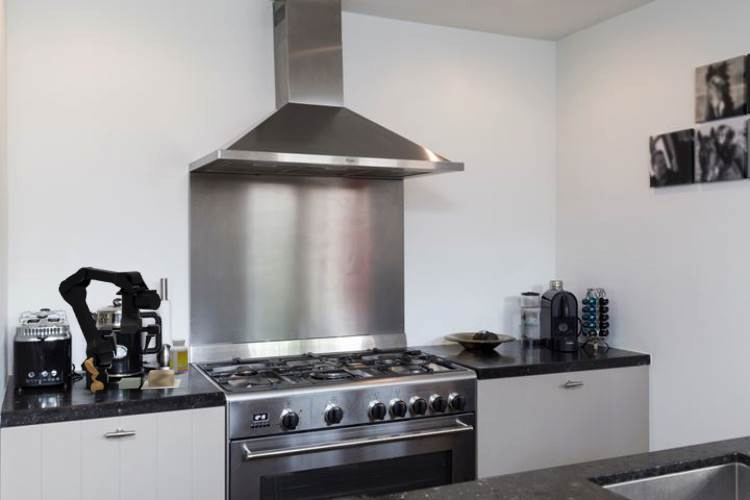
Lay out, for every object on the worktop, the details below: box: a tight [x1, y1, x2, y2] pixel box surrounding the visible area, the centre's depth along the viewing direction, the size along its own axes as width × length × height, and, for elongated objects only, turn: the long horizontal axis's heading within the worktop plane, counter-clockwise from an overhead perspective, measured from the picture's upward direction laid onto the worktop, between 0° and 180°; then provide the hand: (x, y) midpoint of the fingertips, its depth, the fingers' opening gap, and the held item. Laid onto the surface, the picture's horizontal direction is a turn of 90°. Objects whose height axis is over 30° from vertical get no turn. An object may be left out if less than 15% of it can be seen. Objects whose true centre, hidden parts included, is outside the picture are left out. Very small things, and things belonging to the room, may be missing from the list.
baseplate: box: [140, 378, 182, 390], centre depth 245 cm, size 12×14×2 cm
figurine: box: [84, 358, 105, 393], centre depth 237 cm, size 8×6×12 cm
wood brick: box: [147, 369, 176, 387], centre depth 245 cm, size 8×8×4 cm
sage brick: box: [118, 377, 142, 390], centre depth 241 cm, size 6×6×4 cm
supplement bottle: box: [169, 338, 189, 374], centre depth 271 cm, size 7×7×13 cm
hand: (130, 355), depth 241 cm, fingers open, 9 cm apart
